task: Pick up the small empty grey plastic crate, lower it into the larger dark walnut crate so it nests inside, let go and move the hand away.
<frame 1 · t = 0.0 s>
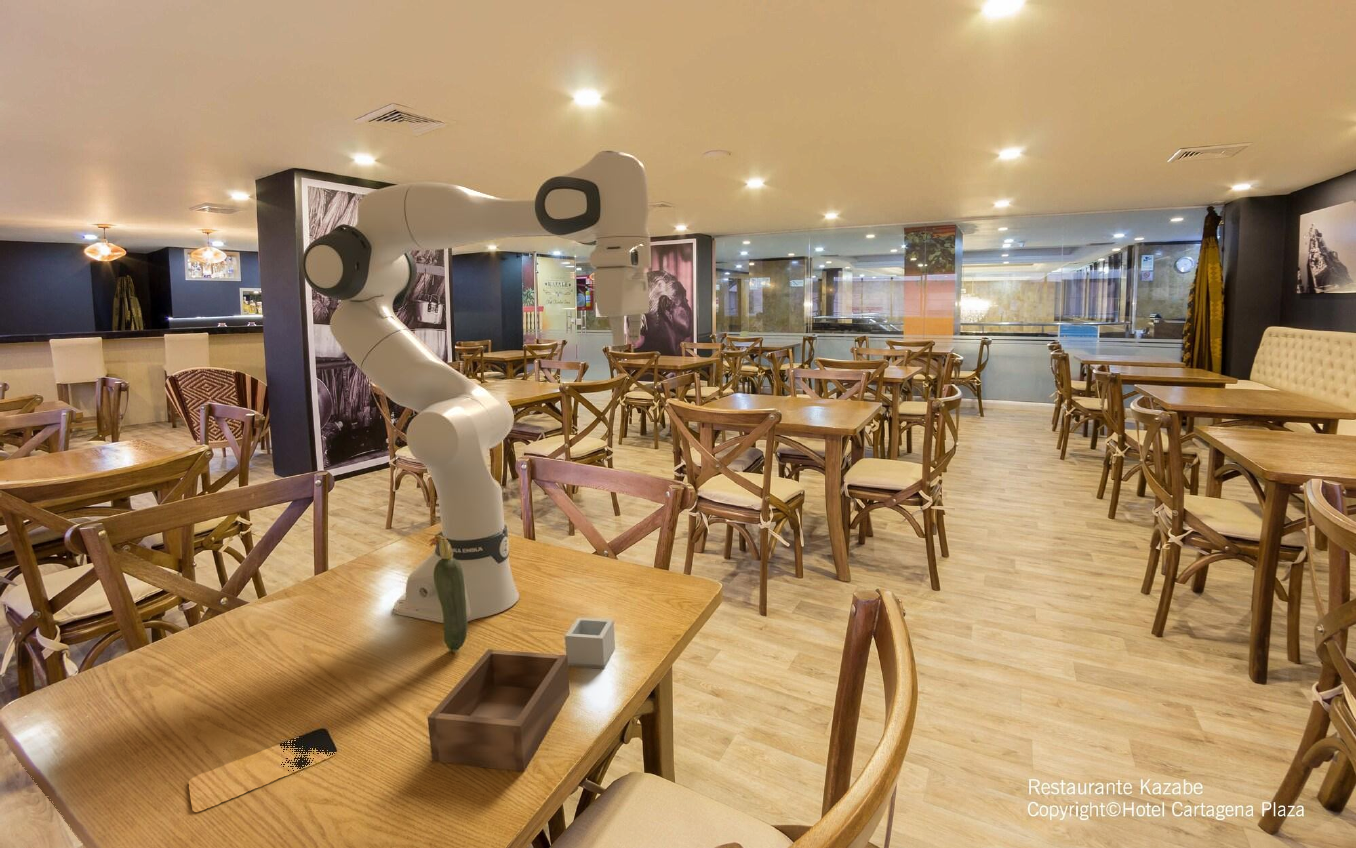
hand: (627, 343, 110), 48 cm above the table, tool pointing down, fingers open, 8 cm apart
vegetable: (456, 655, 106), on the table
big crate: (506, 725, 88), on the table
smartphone: (265, 771, 81), on the table
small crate: (591, 657, 104), on the table
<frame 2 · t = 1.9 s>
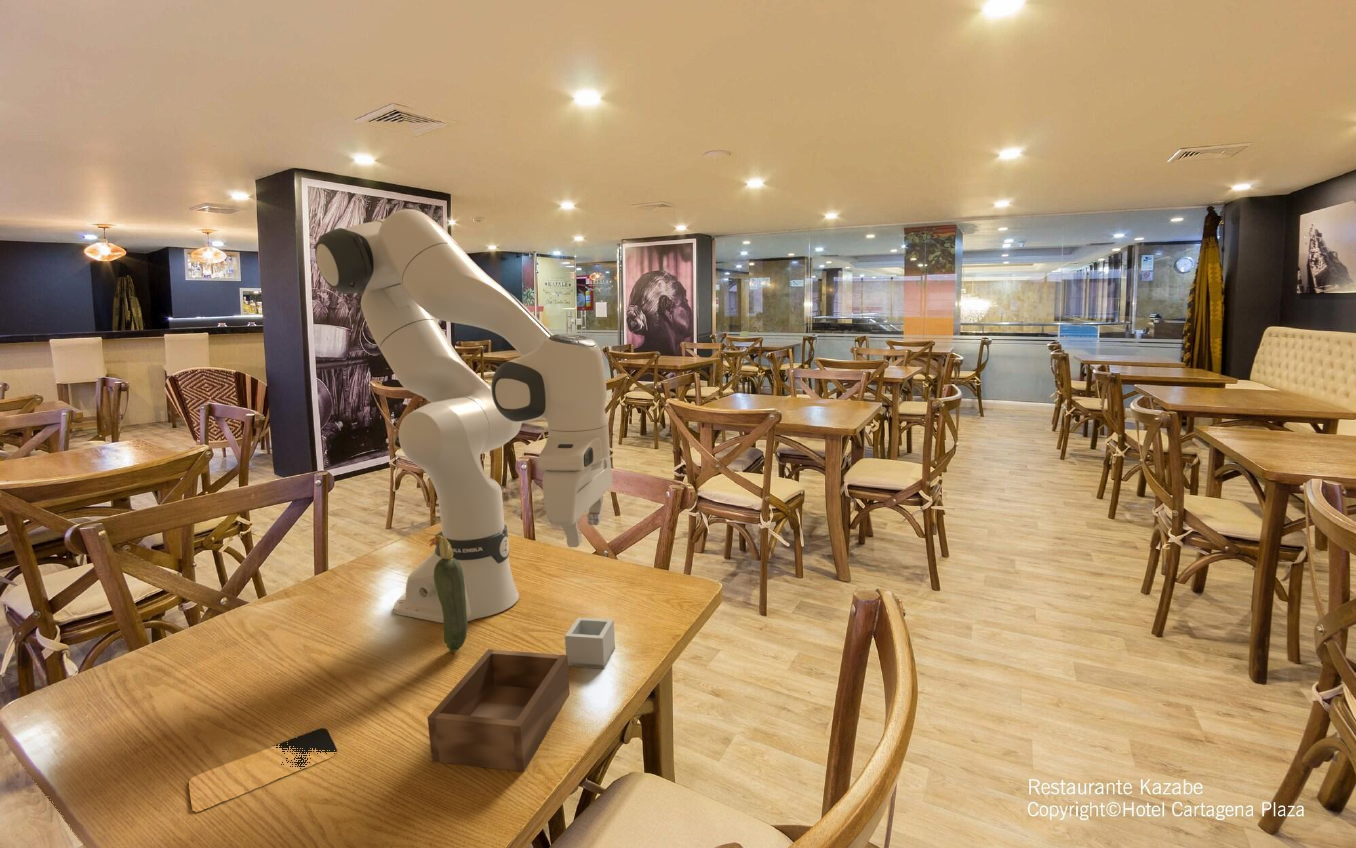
hand: (585, 534, 100), 20 cm above the table, tool pointing down, fingers open, 8 cm apart
nothing on the table moved.
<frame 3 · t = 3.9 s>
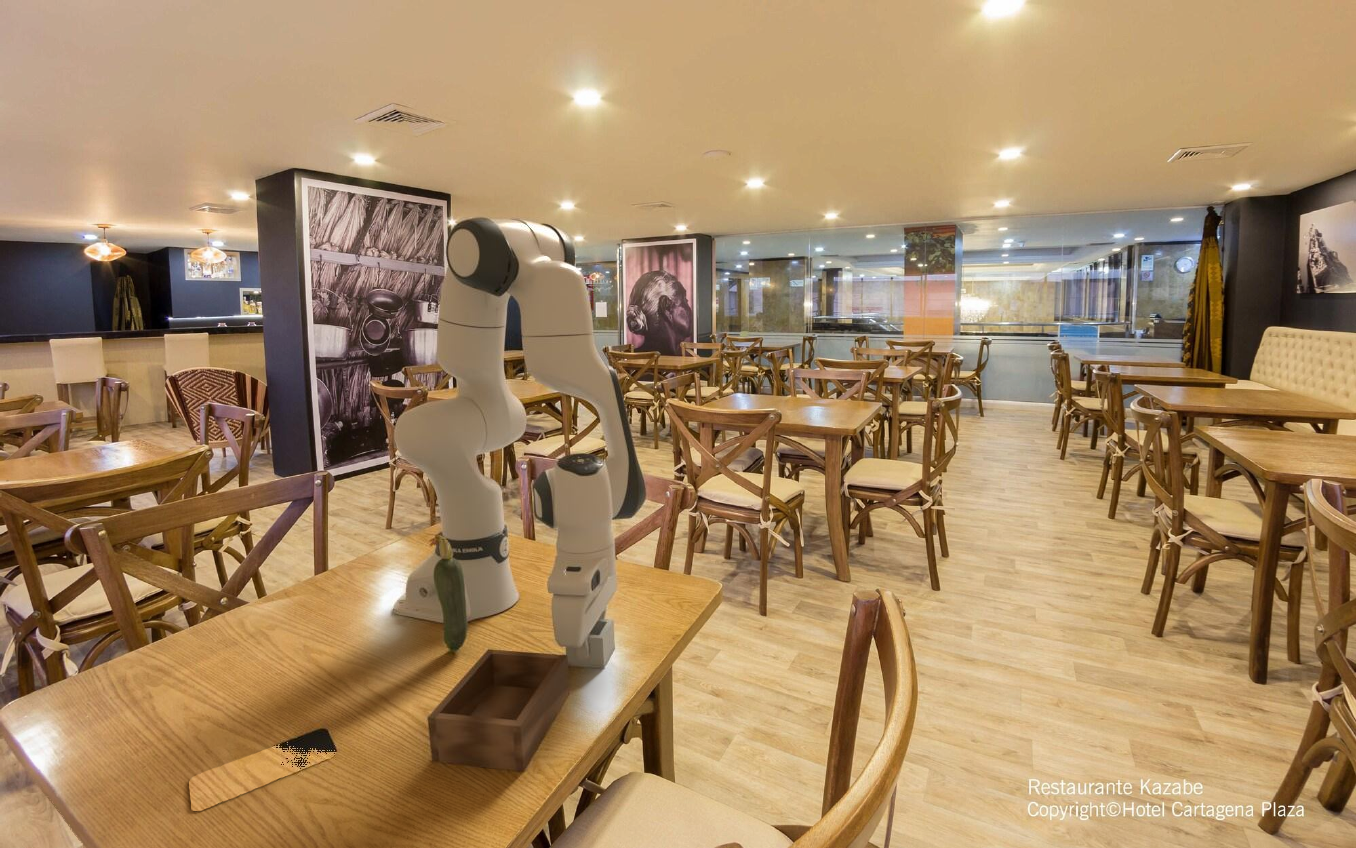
hand: (591, 644, 103), 2 cm above the table, tool pointing down, fingers closed on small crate, 6 cm apart
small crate: (591, 656, 104), on the table, touching gripper
everything else where it was.
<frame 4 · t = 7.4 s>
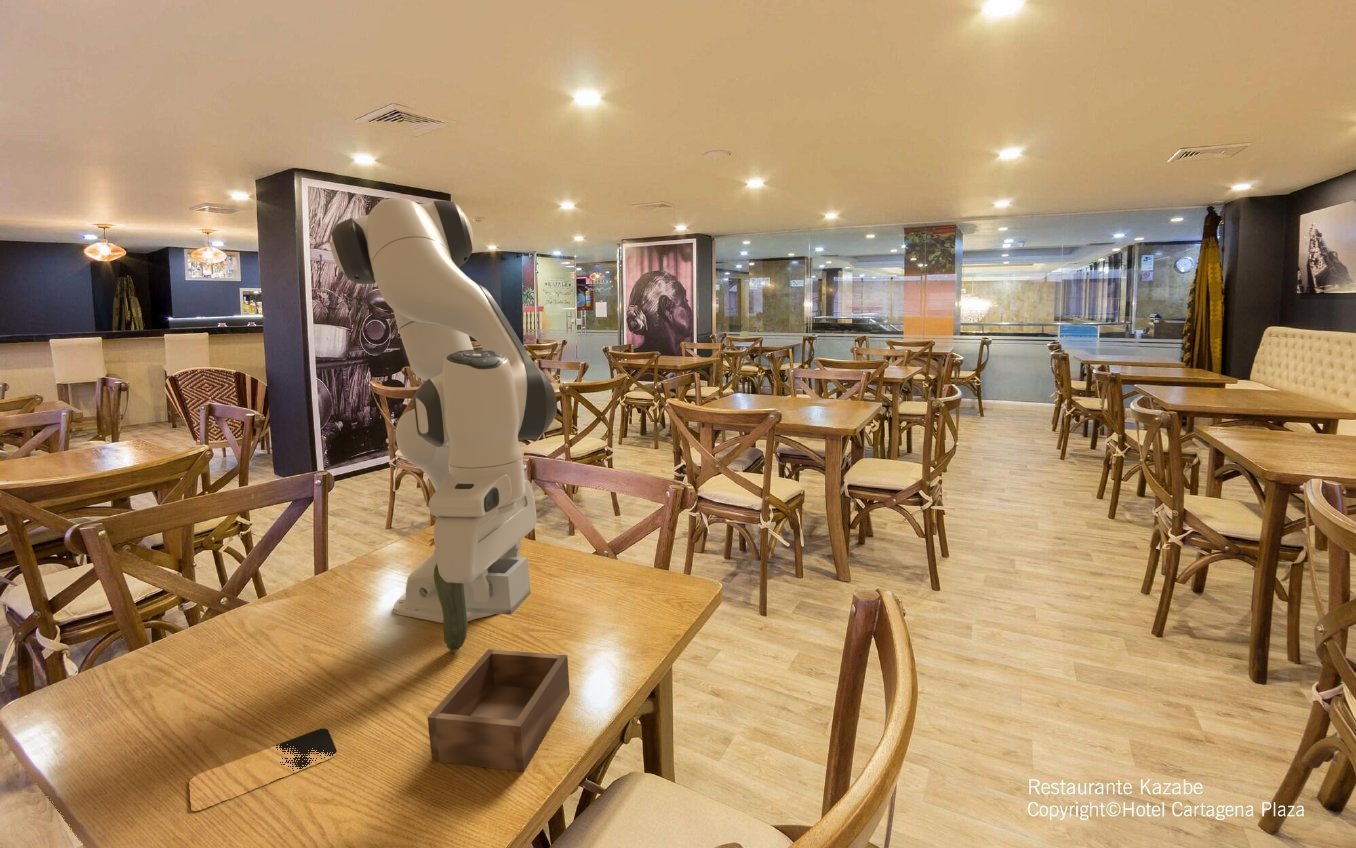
hand: (497, 587, 84), 19 cm above the table, tool pointing down, fingers closed on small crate, 6 cm apart
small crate: (499, 602, 85), point 17 cm above the table, touching gripper
everything else where it was.
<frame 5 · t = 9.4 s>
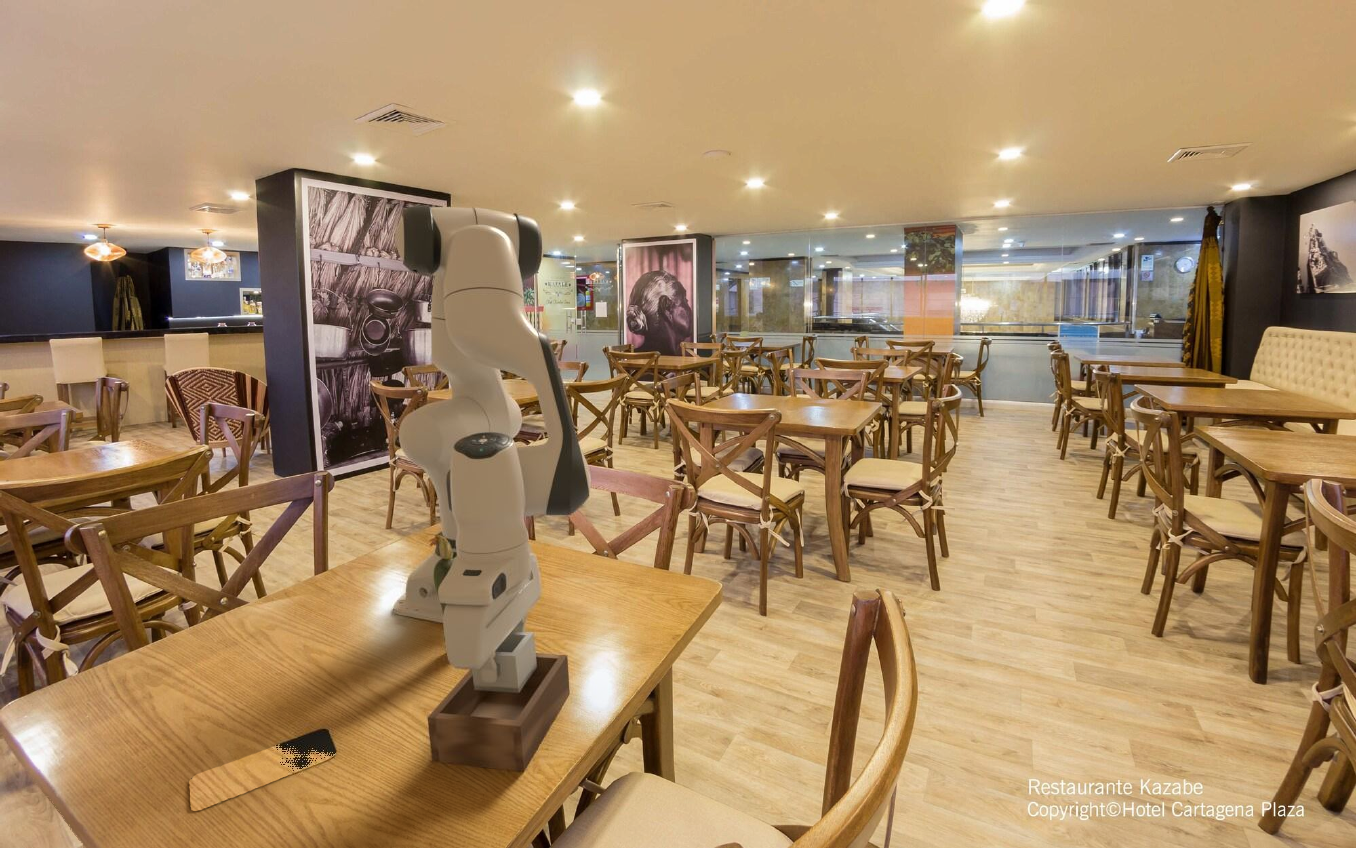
hand: (504, 663, 86), 9 cm above the table, tool pointing down, fingers closed on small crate, 6 cm apart
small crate: (506, 678, 86), point 7 cm above the table, touching gripper
everything else where it was.
when the fingers open (5 cm above the table, at t = 11.2 s): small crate drops 1 cm, resting on big crate.
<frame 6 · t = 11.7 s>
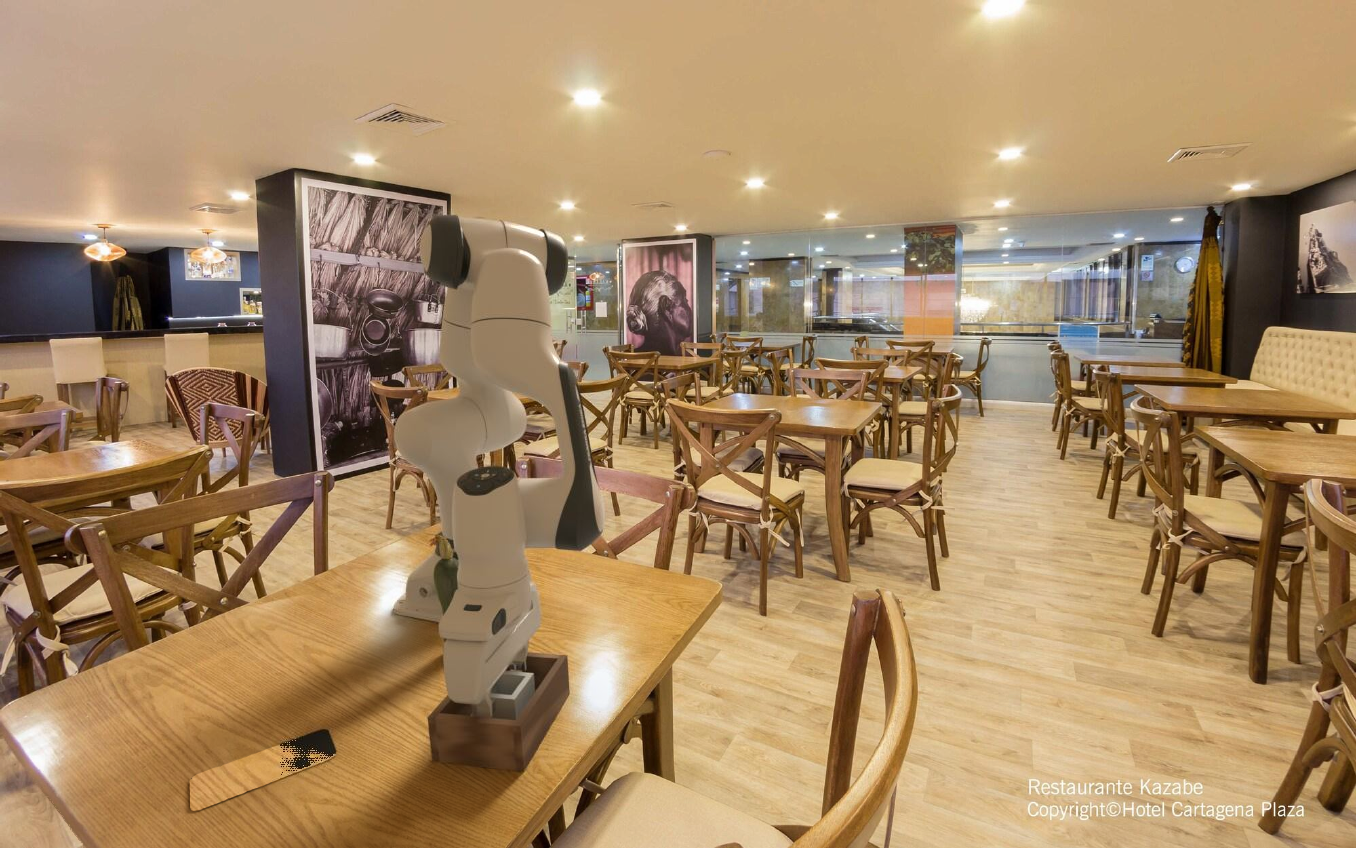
hand: (503, 693, 87), 5 cm above the table, tool pointing down, fingers open, 8 cm apart
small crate: (505, 718, 87), point 1 cm above the table, touching big crate
everything else where it was.
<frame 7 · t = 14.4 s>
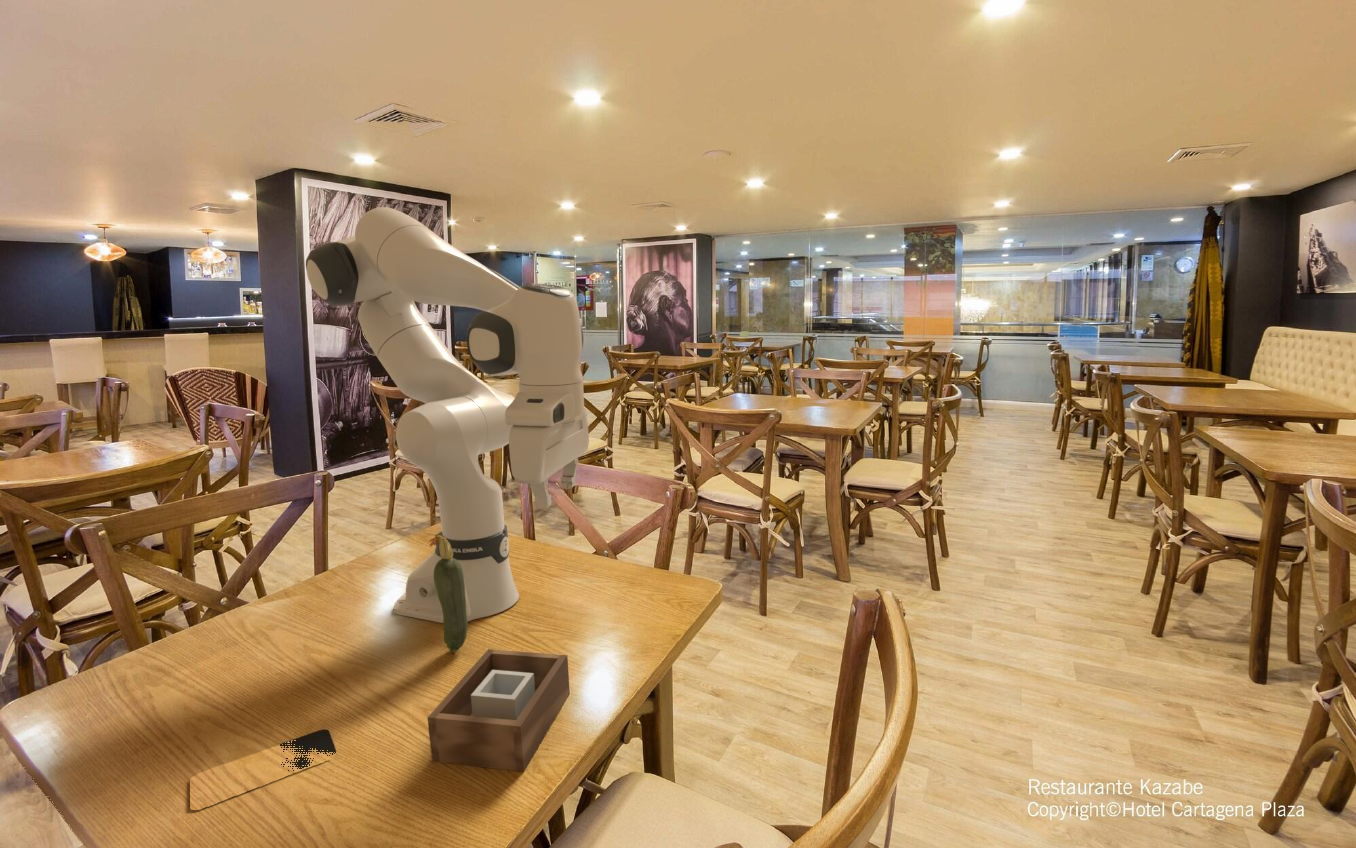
hand: (556, 496, 95), 27 cm above the table, tool pointing down, fingers open, 8 cm apart
nothing on the table moved.
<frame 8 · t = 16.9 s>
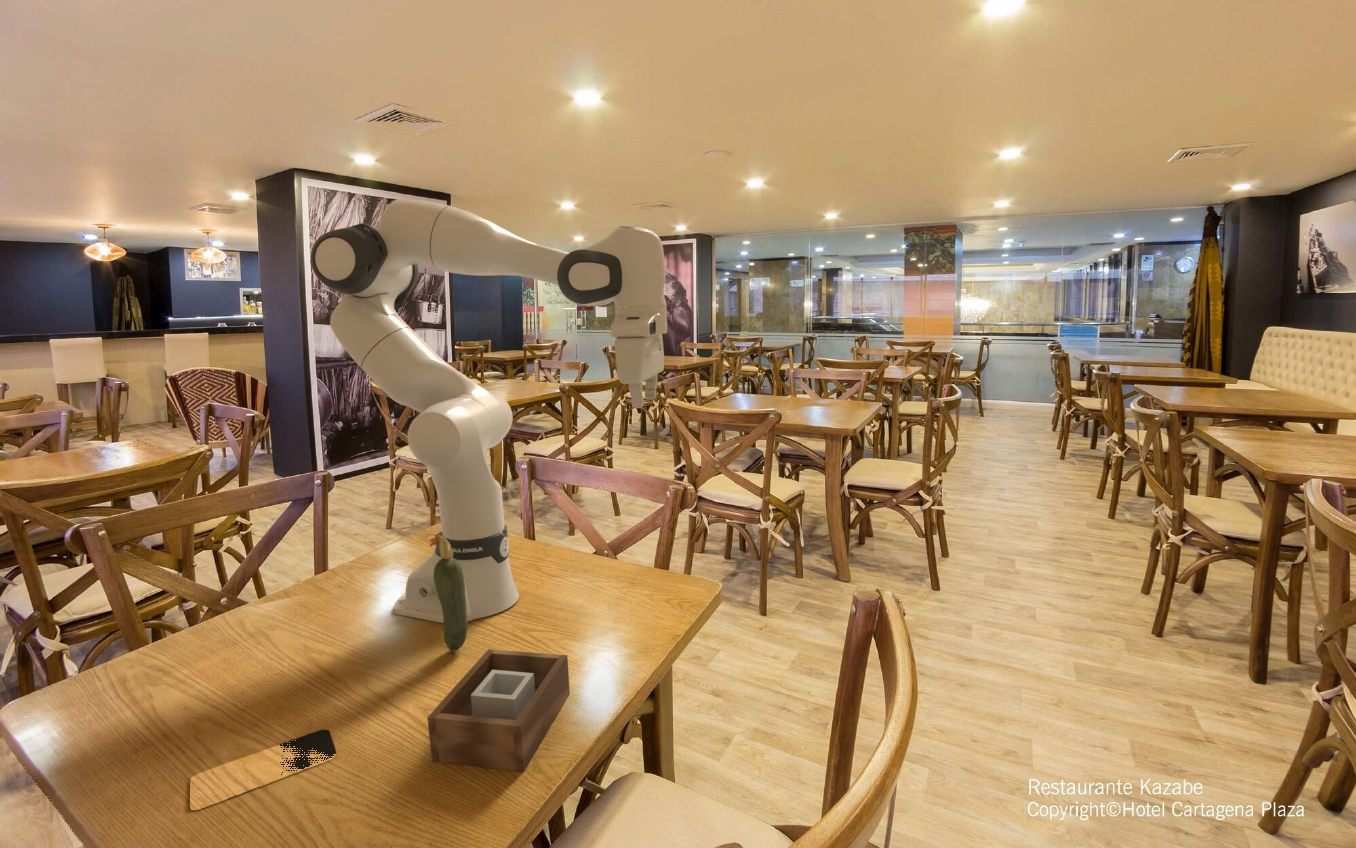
hand: (644, 403, 116), 37 cm above the table, tool pointing down, fingers open, 8 cm apart
nothing on the table moved.
at the end: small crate inside the target area on the big crate (0.1 cm from its centre), point 1.0 cm above the big crate's base; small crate tilted 0°; the gripper is holding nothing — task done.
